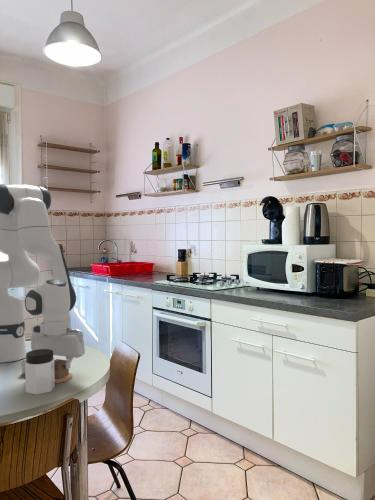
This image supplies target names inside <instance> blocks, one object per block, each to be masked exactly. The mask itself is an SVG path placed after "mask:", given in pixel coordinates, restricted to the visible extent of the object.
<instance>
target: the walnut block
mask: <svg viewBox="0 0 375 500" xmlns="http://www.w3.org/2000/svg"><path fill="white" fill-rule="evenodd" d="M66 362H67V359H60V358H56V359H54V373H55V379H61V378H63V377H65V376H67V375H69V373H70V370H69V369H64V364H65V363H66Z"/></svg>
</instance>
